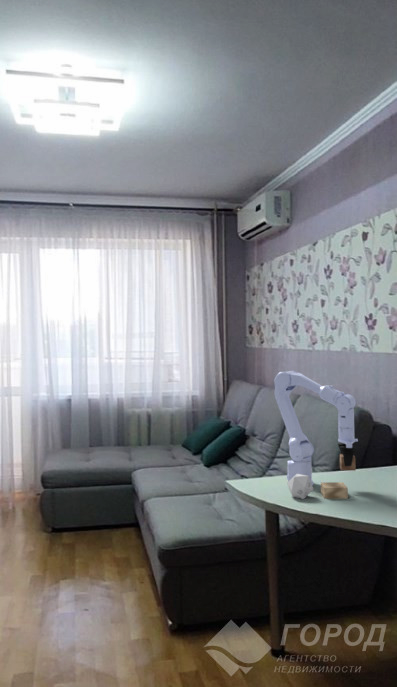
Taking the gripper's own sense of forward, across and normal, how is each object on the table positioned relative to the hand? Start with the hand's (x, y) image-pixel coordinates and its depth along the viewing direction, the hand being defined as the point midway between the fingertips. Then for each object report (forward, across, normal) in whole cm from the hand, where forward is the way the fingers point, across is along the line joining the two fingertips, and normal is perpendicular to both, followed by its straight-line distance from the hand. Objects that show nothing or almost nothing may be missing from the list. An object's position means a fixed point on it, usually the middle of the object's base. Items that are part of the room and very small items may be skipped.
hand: (347, 464), depth 211 cm
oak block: (+10, -9, +6) cm, 14 cm away
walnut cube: (+2, 0, 0) cm, 2 cm away
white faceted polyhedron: (+10, -12, +18) cm, 23 cm away
